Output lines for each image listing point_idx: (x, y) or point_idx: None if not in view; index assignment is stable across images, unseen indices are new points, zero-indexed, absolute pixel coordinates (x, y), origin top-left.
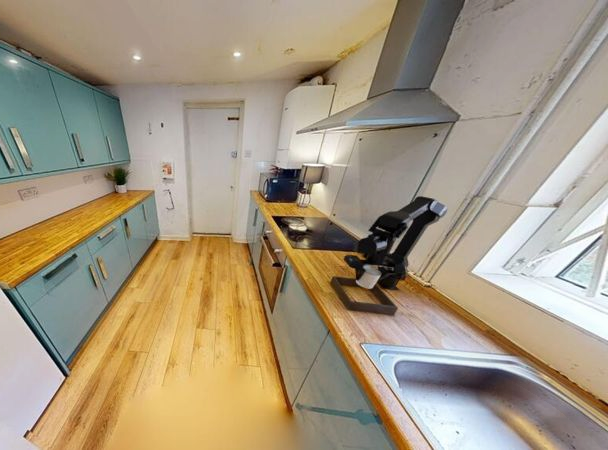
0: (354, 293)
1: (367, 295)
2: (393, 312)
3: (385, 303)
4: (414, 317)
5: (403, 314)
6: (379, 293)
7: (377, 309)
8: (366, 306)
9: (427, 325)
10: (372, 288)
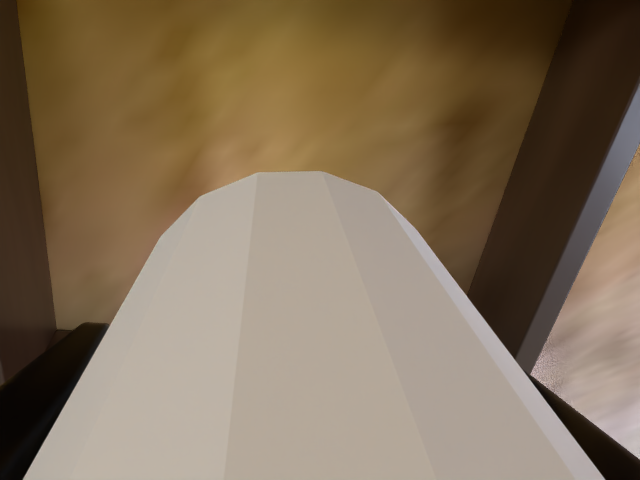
0: (278, 96)
1: (434, 127)
2: None
3: (488, 306)
4: (621, 365)
5: (563, 347)
6: (549, 208)
7: None
8: None
9: (629, 417)
10: (586, 56)
